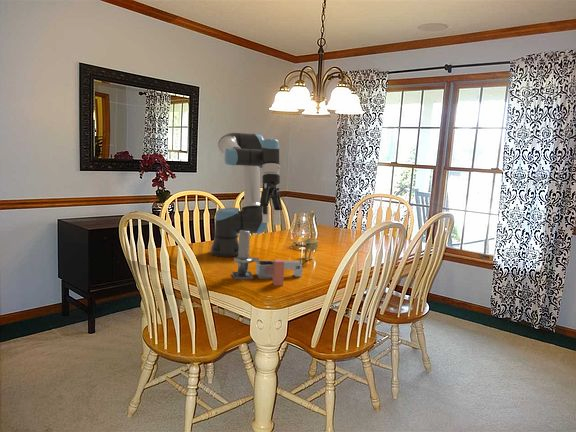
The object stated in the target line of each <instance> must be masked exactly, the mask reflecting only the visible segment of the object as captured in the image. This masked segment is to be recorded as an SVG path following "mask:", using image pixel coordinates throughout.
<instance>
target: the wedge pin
mask: <svg viewBox="0 0 576 432" xmlns="http://www.w3.org/2000/svg"><path fill="white" fill-rule="evenodd" d="M273 261H274V266H273V279H272V284H273V286H274V287H275V286H284V278H285V277H284V276H285V275H284V273H285V269H284V261H285V260H283V259H273Z"/></svg>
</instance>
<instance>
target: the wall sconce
mask: <svg viewBox="0 0 576 432" xmlns="http://www.w3.org/2000/svg"><path fill="white" fill-rule="evenodd" d="M314 217H315V212H314V210H311V211H310V214H309V218H308V220H309V229H310V231H309V232H310V237H309V238H307V237H306V238H304V237H303V238H299V239H298V242H300V243H304V244H305V246H304V247H305V249H304V259H305V261H307V262H308V261H309V260H310V258H311V256H312V252H313V251H316V250H317V249H318V248H319V240H317V238H314V236H313V226H312V225H313V224H312V219H314ZM308 252H309V254H308ZM307 254H308V256H307Z"/></svg>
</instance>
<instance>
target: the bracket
mask: <svg viewBox="0 0 576 432" xmlns="http://www.w3.org/2000/svg"><path fill="white" fill-rule="evenodd" d="M283 261H284V270H293V274H292V275H293V276H294V277H295V278H299V277H300V278H301V277H302V276H303V265H302V264H301V261H300V260H283ZM255 263H256V264H255V265H256V266H255V275H256V277H257V278H258V280H266V279H267V280H270V279H271V280H273V266H274V260H259V262H255Z"/></svg>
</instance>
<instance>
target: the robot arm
mask: <svg viewBox="0 0 576 432" xmlns="http://www.w3.org/2000/svg"><path fill="white" fill-rule="evenodd" d="M280 148H281V147H280V142H279V140H278V139H276V138H265V139H264V137H263V135H261V134H258V133H257V134H256V133H244V132H230V133H227V134H224V135H223V136H221V138H220V139H219V140H218V149H219V151H220V152H221V153H222V154H223V155H224V163H225V164H226V165H228V166H242V169H243V170H242V172H243V193H244V194H243V198H244V205H243V206H242V207H241V210H240V209H239V208H238V207H225V208H220V209H217V210H216V212H215V216H214V239H213V242H212V244H211V247H210V255H212V256H215V257H221V258H222V257H223V258H234V257H238V253H239V231H240V230H248V231H250V234H252V235H253V234H255V235H257V234H263V233H265V231H266V230H267V226H268V223H270V206H269V204H270V201H271V202H272V204H273V208H274V210H273V226H281V211H283V205H282V201H281V195H280V188H279V187H277V185H279V184H280V183H281V176H280V169H281V165H280ZM260 168H261V169H260ZM260 170H261V171H262V172H261V171H260ZM261 174H262V176H261ZM261 177H262V178H261ZM261 179H262V182H261ZM261 183H262V189H261Z"/></svg>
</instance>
